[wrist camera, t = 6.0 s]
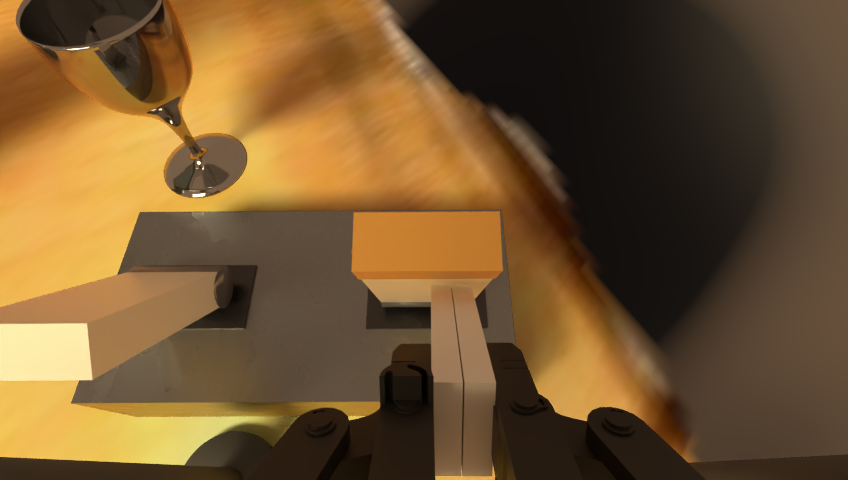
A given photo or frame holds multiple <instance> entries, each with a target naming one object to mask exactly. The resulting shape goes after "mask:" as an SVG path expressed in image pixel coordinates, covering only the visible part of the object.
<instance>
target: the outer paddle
mask: <svg viewBox="0 0 848 480" xmlns="http://www.w3.org/2000/svg"><path fill="white" fill-rule="evenodd" d="M502 271H503V265H502V245H501V226H500V211H493V212H354V217H353V244H352V271H351V272H352V273H353V274H354V275H355V276H356V277H357V278H358V279H359V280H362V281H363V282H364V283H365V284H366V286H367V287H368V288H369V289H370V290H371V291H372V292H373V294H374V295H375V296H376V297H377V298H378V299H379V300H380V302H381V305H382V307H431V285H471V286H472V290H473V294H474V298H476V297H477V296H478V295H479V294H480V293H481V292H482V290H483V289H484V288H485V287H486V286H487V285H488V284H489V283H490V281H491V280H492V279H496V278H497V277H498V275H499V274H500V273H501V272H502Z"/></svg>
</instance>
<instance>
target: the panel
mask: <svg viewBox="0 0 848 480" xmlns="http://www.w3.org/2000/svg"><path fill="white" fill-rule="evenodd" d="M493 211H500V226H501V245H502V265H503V271H502V272H501V273H500V274H499V275H498V277H497V278H496V279H492V280H491V281H490V283H489V284H488V285H487V286H486V287H485V288H484V289H483V290H482V292H481V293H480V294H479V295H478V296H477V297H476V298H475V302H476V306H477V310H478V314H479V318H480V321H481V325H482V329H483V333H484V337H485V341H486V343H512V344H514V345H515V346H516V343H515V333H514V323H513V314H512V304H511V295H510V285H509V276H508V266H507V257H506V247H505V238H504V228H503V219H502V210H388V211H239V212H140V213H139V216H138V219H137V222H136V225H135V227H134V230H133V233H132V236H131V238H130V241H129V244H128V247H127V250H126V252H125V255H124V258H123V261H122V263H121V266H120V269H119V272H118V274H117V275H119V274H123V273H127V272H128V271H129V270H130V269H131V268H133V267H136V266H227V267H228V268H229V269H230V271H231V273H232V276H233V294H232V298H231V301H230V303H229V305H228V306H227V307H226V308H218V309H216V310H214V311H212V312H211V313H209V314H207V315H205V316H204V317H202V318H200V319H198V320H197V321H195V322H193V323H191V324H190V325H188V326H186V327H184V328H183V329H181V330H179V331H177V332H176V333H174V334H172V335H170V336H169V337H167V338H165V339H164V340H162V341H160V342H158V343H157V344H155V345H153V346H151V347H150V348H148V349H146V350H144V351H143V352H141V353H139V354H137V355H136V356H134V357H132V358H130V359H129V360H127V361H125V362H123V363H122V364H120V365H118V366H116V367H115V368H113V369H111V370H109V371H108V372H106V373H104V374H102V375H101V376H99V377H97V378H95V379H94V380H79V383H78V386H77V388H76V391H75V394H74V397H73V399H72V402H71V403H72V404H77V405H82V406H87V407H92V408H97V409H102V410H106V411H111V412H116V413H121V414H126V415H131V416H136V417H189V416H301V415H302V414H304V413H306V412H308V411H311V410H313V409H318V408H335V409H338V410H341V411H343V412H344V413H345V414H346V415H347V416H368V415H370V414H372V413H374V412H376V411H377V410H378V409H380V385H379V376H380V374H381V372H382V370H384V369H385V368H386V367H388V366H390V365H391V360H392V354H393V351H394V350H395V349H396V348H397V347H398V346H399V345H400V344H431V307H382V305H381V302H380V300H379V299H378V298H377V297H376V296H375V295H374V294H373V292H372V291H371V290H370V289H369V288H368V287H367V286H366V284H365V283H364V282H363V281H362V280H359V279H358V278H357V277H356V276H355V275H354V274H353V273H352V272H351V271H352V244H353V217H354V212H493Z"/></svg>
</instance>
